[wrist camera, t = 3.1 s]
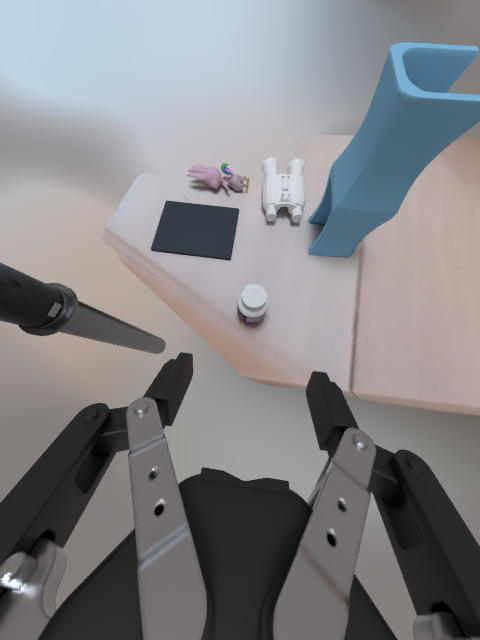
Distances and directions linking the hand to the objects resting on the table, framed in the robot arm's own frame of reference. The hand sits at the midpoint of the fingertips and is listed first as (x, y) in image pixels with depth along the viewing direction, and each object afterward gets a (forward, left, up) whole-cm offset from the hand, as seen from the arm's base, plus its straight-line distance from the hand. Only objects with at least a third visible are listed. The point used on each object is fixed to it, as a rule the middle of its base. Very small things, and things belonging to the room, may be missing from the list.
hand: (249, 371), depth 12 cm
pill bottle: (0, +12, -24) cm, 26 cm away
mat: (-15, +31, -23) cm, 41 cm away
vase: (+16, +33, -24) cm, 43 cm away
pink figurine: (-12, +45, -24) cm, 52 cm away
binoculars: (+4, +43, -24) cm, 49 cm away
